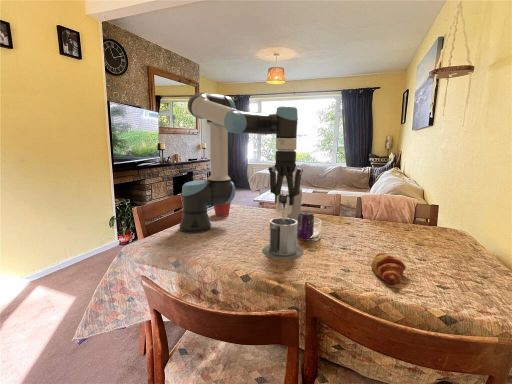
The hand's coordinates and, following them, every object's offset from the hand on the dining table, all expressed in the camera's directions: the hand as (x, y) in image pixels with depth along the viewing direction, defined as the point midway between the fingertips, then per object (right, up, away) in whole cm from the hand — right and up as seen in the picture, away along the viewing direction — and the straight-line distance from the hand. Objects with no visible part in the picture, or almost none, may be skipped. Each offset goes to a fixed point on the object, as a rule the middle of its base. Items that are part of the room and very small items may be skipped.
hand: (283, 212), depth 107 cm
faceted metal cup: (0, -15, +3) cm, 15 cm away
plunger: (0, -12, +2) cm, 12 cm away
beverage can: (+11, -13, +20) cm, 27 cm away
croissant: (+34, -20, -12) cm, 41 cm away
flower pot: (-31, -6, +59) cm, 66 cm away
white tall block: (+6, -9, +42) cm, 44 cm away
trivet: (0, -16, +3) cm, 16 cm away
